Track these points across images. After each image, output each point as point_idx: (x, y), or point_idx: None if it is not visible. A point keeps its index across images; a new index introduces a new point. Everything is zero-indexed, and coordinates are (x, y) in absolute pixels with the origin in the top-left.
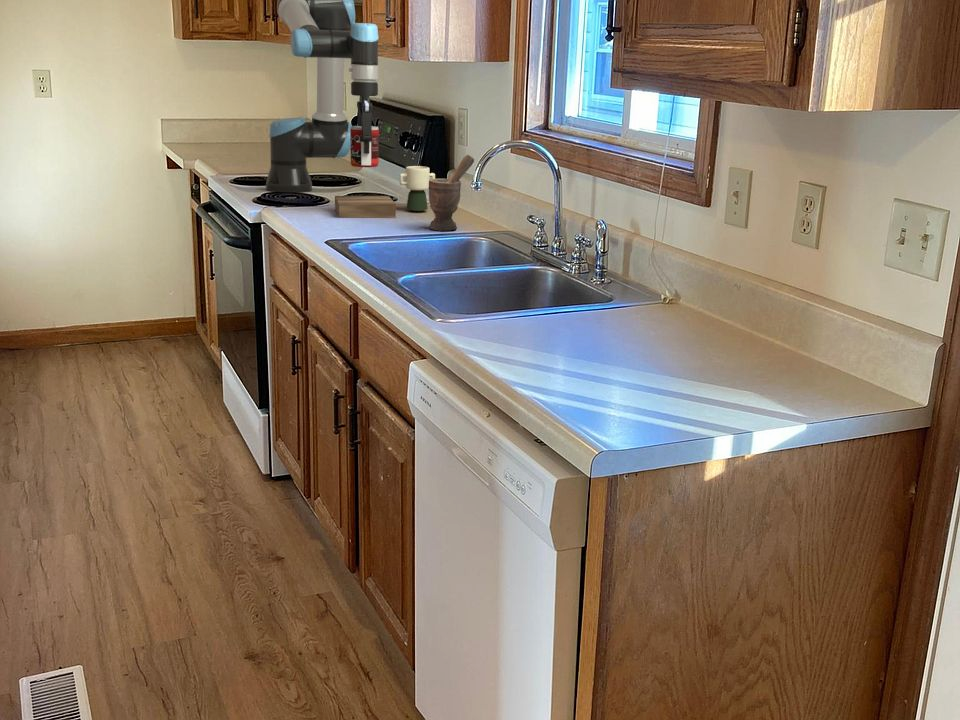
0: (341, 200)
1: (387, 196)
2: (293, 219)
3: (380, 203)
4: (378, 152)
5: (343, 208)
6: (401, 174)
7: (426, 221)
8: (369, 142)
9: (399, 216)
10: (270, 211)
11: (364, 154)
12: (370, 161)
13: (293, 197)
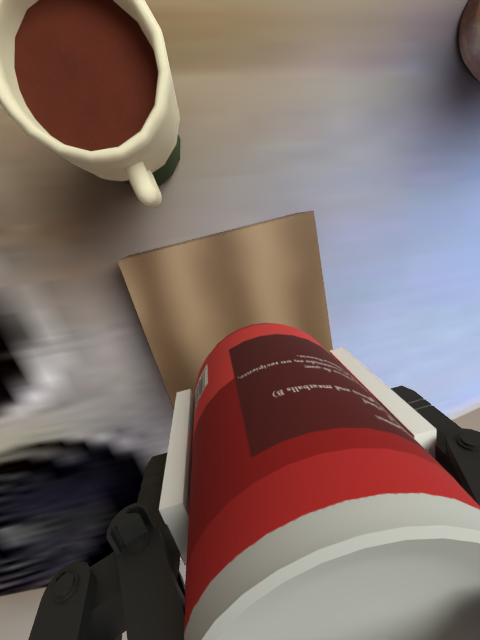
0: None
1: (133, 263)
2: None
3: (314, 264)
4: (283, 348)
5: None
6: (154, 193)
7: (352, 98)
8: (432, 436)
9: (266, 203)
10: None
11: None
12: (352, 358)
13: (4, 534)
